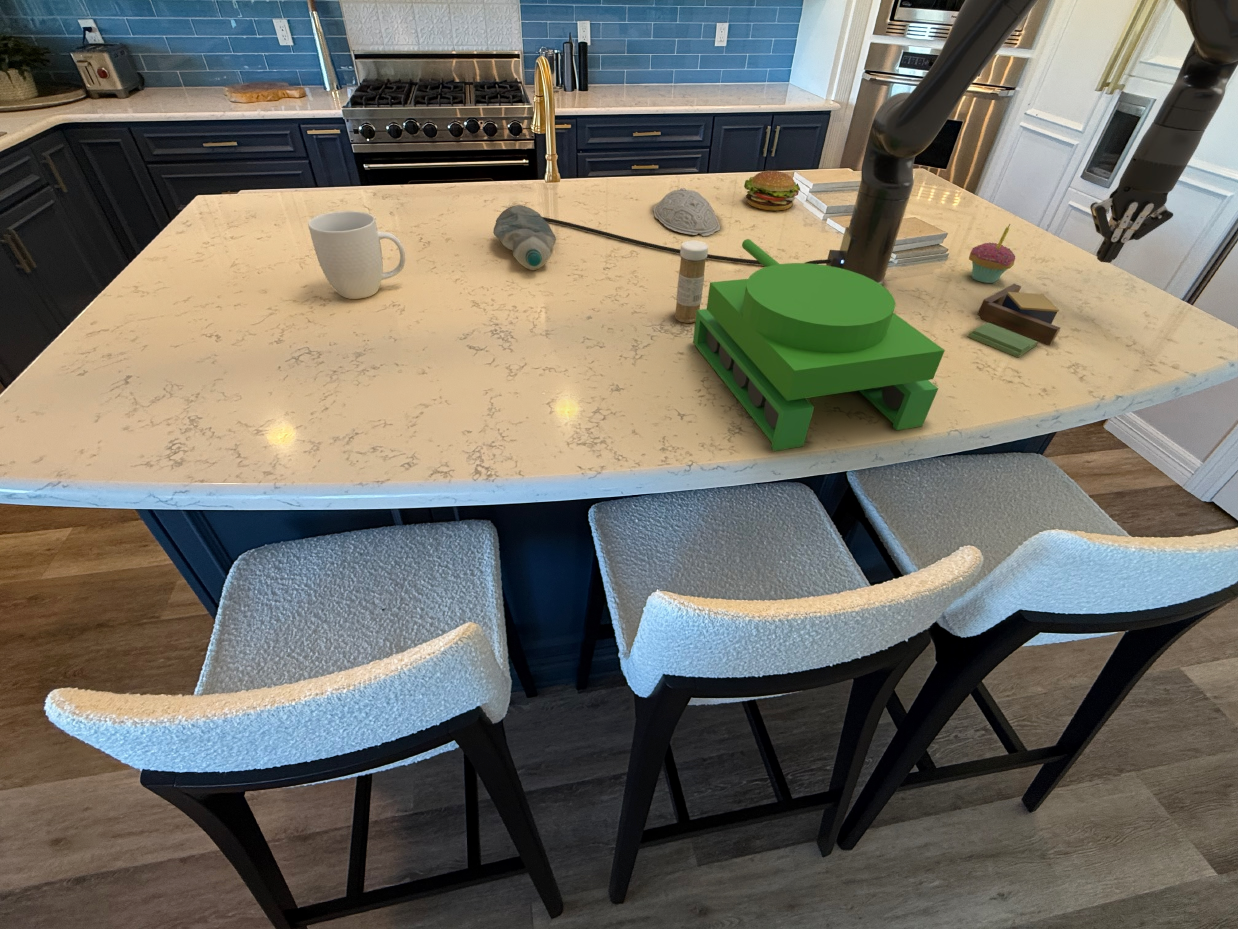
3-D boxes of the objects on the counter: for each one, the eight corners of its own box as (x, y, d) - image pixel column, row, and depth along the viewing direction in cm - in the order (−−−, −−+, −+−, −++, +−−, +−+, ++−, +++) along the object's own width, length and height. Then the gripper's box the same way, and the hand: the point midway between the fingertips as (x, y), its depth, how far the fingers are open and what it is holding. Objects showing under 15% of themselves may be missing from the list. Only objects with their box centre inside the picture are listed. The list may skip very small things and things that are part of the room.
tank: (803, 316, 115) (825, 226, 105) (925, 425, 90) (970, 321, 79) (680, 330, 110) (689, 236, 99) (772, 451, 84) (799, 342, 74)
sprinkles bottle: (690, 310, 116) (699, 237, 107) (704, 321, 112) (713, 247, 104) (669, 315, 114) (676, 241, 105) (682, 326, 111) (690, 250, 102)
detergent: (491, 234, 141) (497, 277, 122) (491, 201, 137) (497, 240, 118) (550, 237, 144) (564, 279, 125) (551, 204, 140) (566, 243, 121)
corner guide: (997, 341, 111) (1004, 325, 109) (962, 294, 125) (968, 280, 124) (1055, 345, 110) (1063, 330, 108) (1012, 298, 125) (1019, 283, 123)
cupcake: (1009, 288, 128) (1036, 229, 121) (966, 284, 129) (990, 225, 122) (999, 272, 135) (1024, 215, 127) (957, 268, 136) (979, 211, 128)
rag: (967, 336, 112) (970, 329, 111) (986, 326, 115) (989, 319, 114) (1018, 357, 106) (1021, 350, 105) (1036, 345, 110) (1039, 338, 109)
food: (806, 204, 167) (813, 172, 162) (779, 216, 158) (785, 183, 153) (761, 192, 173) (766, 161, 168) (733, 203, 165) (738, 171, 160)
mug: (408, 274, 123) (395, 206, 115) (414, 298, 116) (401, 226, 107) (326, 283, 119) (307, 212, 111) (327, 308, 111) (306, 234, 103)
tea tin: (1011, 327, 115) (1021, 307, 112) (998, 311, 120) (1007, 291, 118) (1048, 330, 115) (1059, 309, 112) (1033, 313, 120) (1043, 294, 117)
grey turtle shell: (704, 199, 165) (705, 172, 160) (730, 238, 147) (732, 209, 142) (646, 205, 164) (645, 179, 159) (665, 246, 146) (664, 217, 141)
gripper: (1190, 154, 104) (1130, 256, 115) (1107, 147, 105) (1056, 249, 116) (1218, 166, 98) (1152, 272, 110) (1130, 159, 99) (1074, 265, 110)
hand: (1103, 260), depth 113 cm, fingers closed
